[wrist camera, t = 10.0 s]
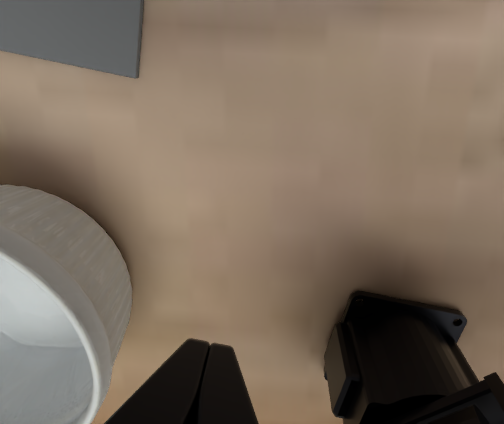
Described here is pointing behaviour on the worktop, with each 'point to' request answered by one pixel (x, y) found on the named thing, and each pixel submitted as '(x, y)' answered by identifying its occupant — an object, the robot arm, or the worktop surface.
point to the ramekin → (57, 309)
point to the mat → (75, 32)
